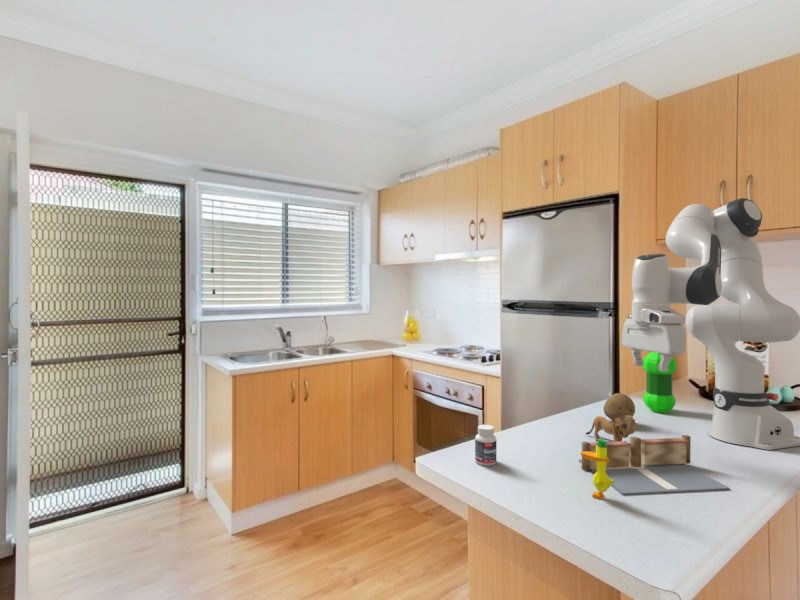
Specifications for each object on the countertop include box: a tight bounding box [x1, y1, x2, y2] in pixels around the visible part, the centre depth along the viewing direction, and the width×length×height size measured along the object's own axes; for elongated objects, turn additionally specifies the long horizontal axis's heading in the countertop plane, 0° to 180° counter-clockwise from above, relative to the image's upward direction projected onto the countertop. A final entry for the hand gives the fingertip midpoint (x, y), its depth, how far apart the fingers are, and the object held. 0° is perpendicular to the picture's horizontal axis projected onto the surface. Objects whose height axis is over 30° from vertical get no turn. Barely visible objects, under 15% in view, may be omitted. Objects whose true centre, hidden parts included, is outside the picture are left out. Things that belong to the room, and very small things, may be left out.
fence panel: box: [640, 434, 691, 465], centre depth 103 cm, size 12×2×6 cm, turn 95°
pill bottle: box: [474, 424, 497, 467], centre depth 107 cm, size 5×5×9 cm
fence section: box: [581, 436, 642, 472], centre depth 102 cm, size 15×2×7 cm, turn 95°
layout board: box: [579, 458, 731, 496], centre depth 99 cm, size 24×18×1 cm
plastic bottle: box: [642, 352, 678, 414], centre depth 151 cm, size 10×10×25 cm
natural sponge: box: [603, 392, 636, 421], centre depth 136 cm, size 9×9×10 cm
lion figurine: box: [585, 415, 638, 442], centre depth 120 cm, size 15×5×9 cm, turn 34°
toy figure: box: [579, 438, 615, 500], centre depth 88 cm, size 7×4×12 cm, turn 50°
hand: (650, 368), depth 111 cm, fingers open, 8 cm apart
